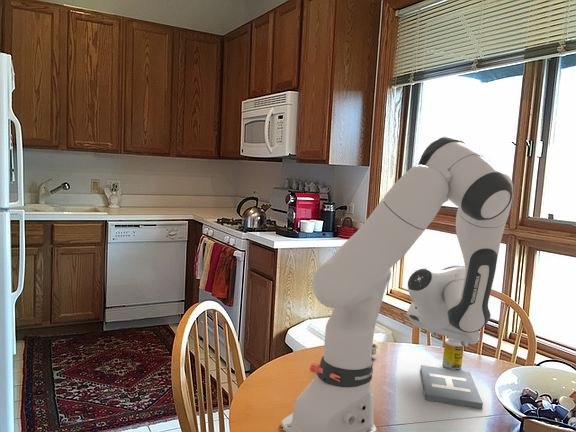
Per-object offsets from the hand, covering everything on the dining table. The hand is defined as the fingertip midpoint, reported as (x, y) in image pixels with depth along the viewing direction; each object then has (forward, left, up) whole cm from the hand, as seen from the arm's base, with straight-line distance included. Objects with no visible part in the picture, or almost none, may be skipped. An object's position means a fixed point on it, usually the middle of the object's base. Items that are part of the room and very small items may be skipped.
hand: (450, 339), depth 145 cm
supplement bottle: (+4, +1, -10) cm, 11 cm away
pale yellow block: (-12, +22, -10) cm, 27 cm away
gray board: (-11, -6, -10) cm, 16 cm away
